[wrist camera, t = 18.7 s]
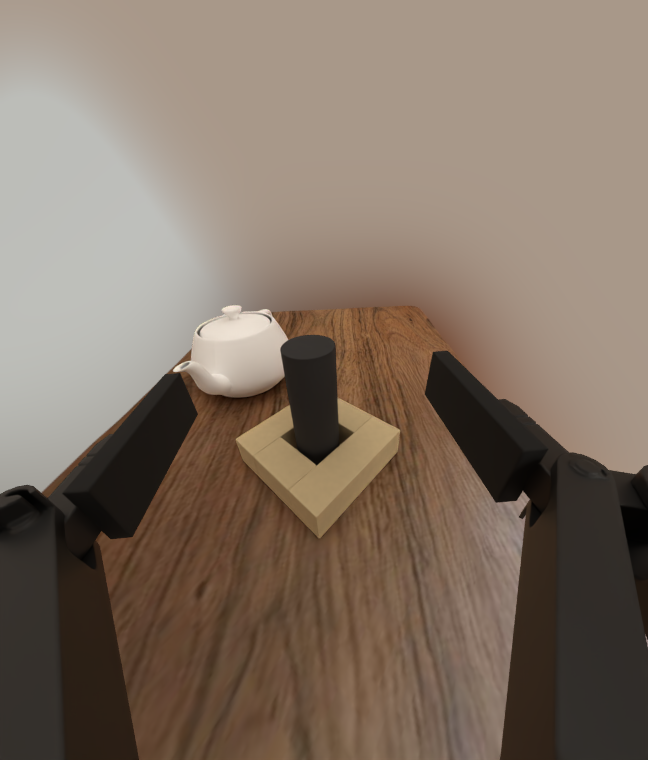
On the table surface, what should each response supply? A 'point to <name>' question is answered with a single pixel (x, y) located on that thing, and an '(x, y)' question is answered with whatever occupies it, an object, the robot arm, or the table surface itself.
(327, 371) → the black cylinder peg
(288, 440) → the base pad
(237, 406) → the table surface
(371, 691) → the table surface
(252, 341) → the teapot
